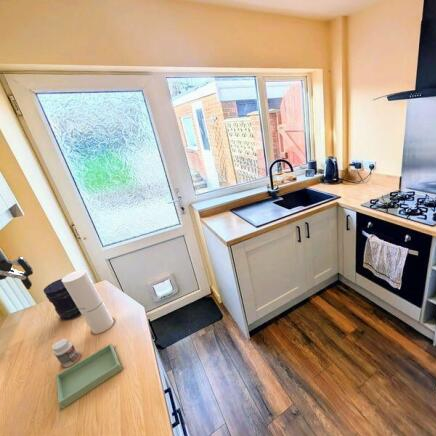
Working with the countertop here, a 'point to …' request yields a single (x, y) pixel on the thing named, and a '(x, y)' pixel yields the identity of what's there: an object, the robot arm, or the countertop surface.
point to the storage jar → (61, 300)
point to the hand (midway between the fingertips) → (10, 295)
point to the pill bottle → (65, 352)
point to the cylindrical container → (88, 301)
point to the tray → (86, 375)
